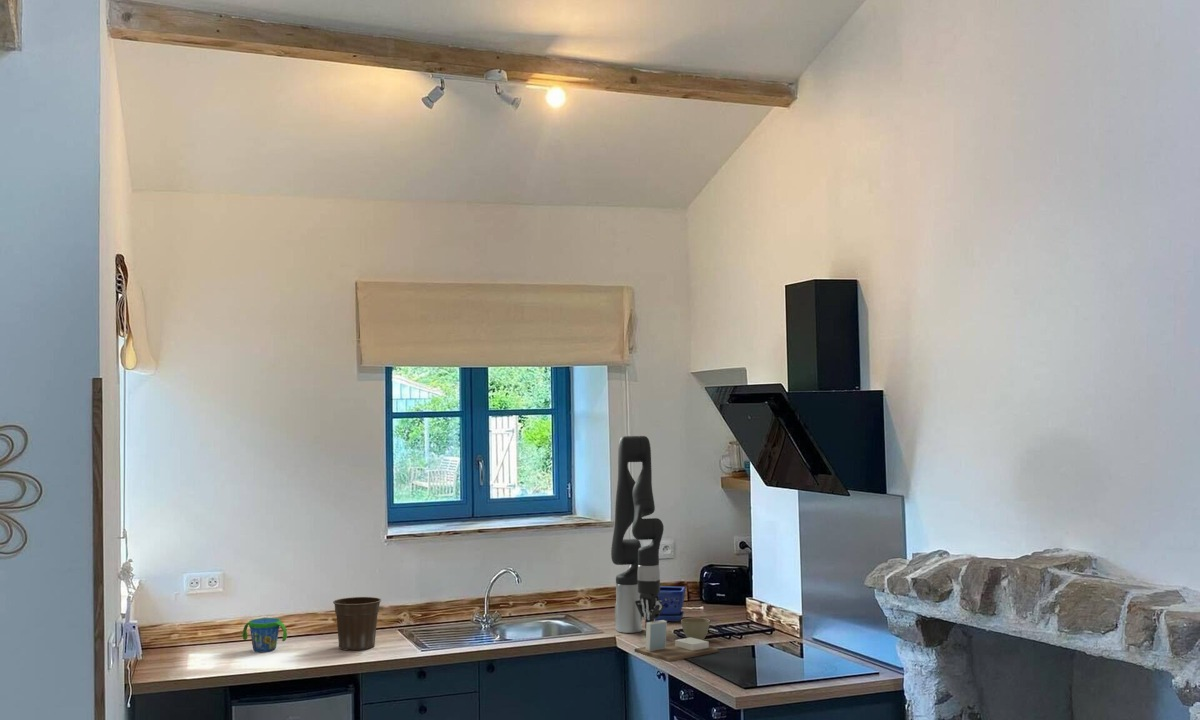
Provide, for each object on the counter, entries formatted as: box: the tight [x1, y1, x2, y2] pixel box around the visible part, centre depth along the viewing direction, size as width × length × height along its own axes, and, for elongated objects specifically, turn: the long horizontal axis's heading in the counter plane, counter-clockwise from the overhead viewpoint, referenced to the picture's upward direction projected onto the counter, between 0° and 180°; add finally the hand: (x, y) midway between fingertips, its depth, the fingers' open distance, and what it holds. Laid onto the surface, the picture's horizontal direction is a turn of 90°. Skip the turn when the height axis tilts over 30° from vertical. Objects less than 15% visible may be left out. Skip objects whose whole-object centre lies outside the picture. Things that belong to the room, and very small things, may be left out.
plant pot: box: [332, 596, 382, 651], centre depth 362 cm, size 16×16×16 cm
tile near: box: [645, 620, 668, 651], centre depth 346 cm, size 2×7×9 cm, turn 126°
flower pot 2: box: [680, 617, 711, 641], centre depth 363 cm, size 10×10×7 cm
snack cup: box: [242, 617, 288, 653], centre depth 359 cm, size 16×10×10 cm
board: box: [634, 641, 719, 662], centre depth 346 cm, size 18×21×1 cm
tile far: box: [674, 637, 710, 651], centre depth 348 cm, size 2×7×9 cm
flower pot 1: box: [654, 585, 686, 622], centre depth 404 cm, size 13×13×12 cm
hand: (649, 630), depth 349 cm, fingers closed
